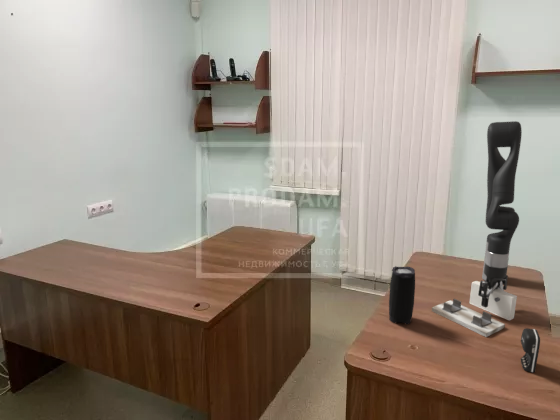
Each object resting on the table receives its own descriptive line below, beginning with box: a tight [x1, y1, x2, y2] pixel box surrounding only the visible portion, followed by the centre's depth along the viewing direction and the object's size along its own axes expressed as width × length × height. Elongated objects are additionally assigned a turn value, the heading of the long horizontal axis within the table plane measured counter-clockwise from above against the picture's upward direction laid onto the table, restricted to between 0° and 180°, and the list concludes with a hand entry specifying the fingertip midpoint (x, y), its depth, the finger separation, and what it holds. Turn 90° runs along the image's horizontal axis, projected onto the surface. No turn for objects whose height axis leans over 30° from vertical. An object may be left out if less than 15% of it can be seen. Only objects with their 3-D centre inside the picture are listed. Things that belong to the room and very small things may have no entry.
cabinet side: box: [431, 298, 506, 338], centre depth 156 cm, size 11×22×4 cm, turn 33°
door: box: [469, 280, 518, 321], centre depth 162 cm, size 4×16×9 cm, turn 33°
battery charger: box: [520, 327, 541, 374], centre depth 128 cm, size 7×4×11 cm, turn 160°
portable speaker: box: [388, 265, 416, 325], centre depth 154 cm, size 9×9×20 cm
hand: (491, 303), depth 162 cm, fingers open, 8 cm apart
